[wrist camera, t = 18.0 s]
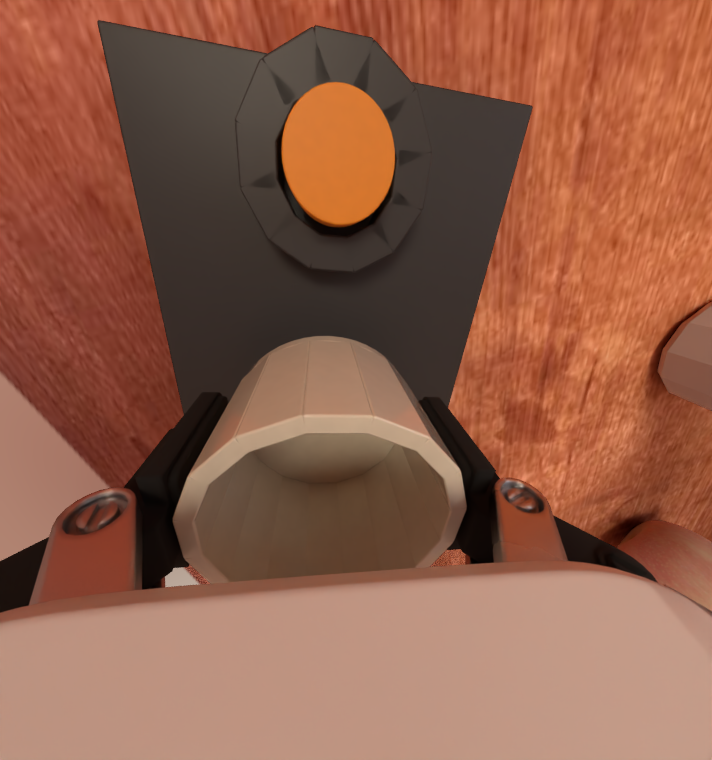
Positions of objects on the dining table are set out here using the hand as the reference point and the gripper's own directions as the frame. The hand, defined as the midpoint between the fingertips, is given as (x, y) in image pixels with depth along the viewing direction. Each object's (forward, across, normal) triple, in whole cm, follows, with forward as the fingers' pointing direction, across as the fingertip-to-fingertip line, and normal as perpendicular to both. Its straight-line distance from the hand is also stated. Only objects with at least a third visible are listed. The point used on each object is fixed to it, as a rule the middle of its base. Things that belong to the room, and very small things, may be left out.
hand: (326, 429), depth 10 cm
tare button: (+3, 0, -9) cm, 9 cm away
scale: (+6, 0, -4) cm, 7 cm away
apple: (+6, -31, +16) cm, 36 cm away
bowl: (+1, 0, 0) cm, 1 cm away
